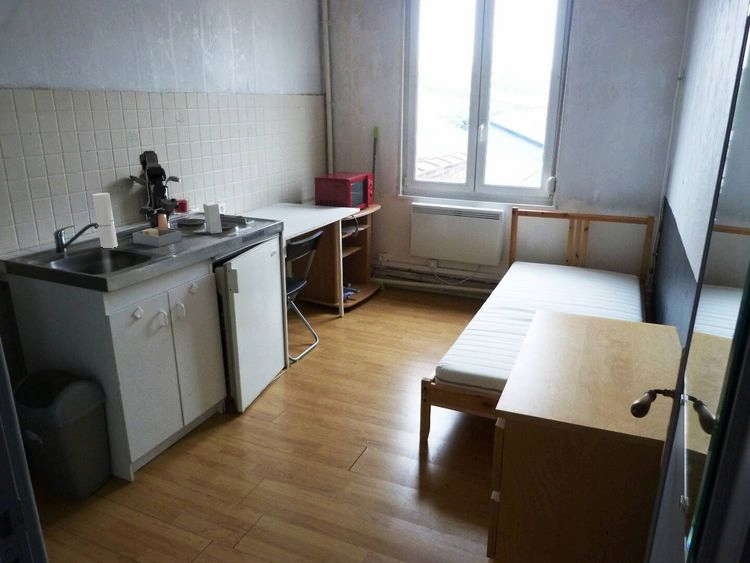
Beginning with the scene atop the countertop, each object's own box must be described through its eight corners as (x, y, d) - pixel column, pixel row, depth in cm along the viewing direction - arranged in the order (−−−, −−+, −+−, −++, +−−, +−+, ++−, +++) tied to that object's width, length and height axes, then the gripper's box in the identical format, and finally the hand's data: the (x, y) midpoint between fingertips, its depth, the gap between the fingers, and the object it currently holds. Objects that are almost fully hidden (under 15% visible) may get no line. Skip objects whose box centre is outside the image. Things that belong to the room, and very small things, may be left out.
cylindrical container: (121, 245, 268) (112, 193, 260) (109, 249, 261) (101, 195, 253) (109, 244, 270) (100, 192, 262) (97, 248, 263) (88, 194, 256)
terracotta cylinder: (154, 229, 268) (152, 215, 266) (163, 227, 272) (161, 213, 270) (161, 230, 266) (159, 216, 264) (170, 228, 270) (168, 214, 268)
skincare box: (222, 232, 291) (219, 204, 287) (210, 234, 288) (207, 205, 284) (216, 229, 298) (214, 201, 294) (205, 231, 295) (202, 202, 290)
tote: (133, 243, 272) (132, 233, 270) (156, 237, 283) (155, 227, 281) (158, 247, 263) (157, 237, 262) (181, 241, 275) (180, 231, 273)
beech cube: (143, 240, 274) (142, 230, 273) (152, 238, 278) (151, 228, 277) (150, 241, 272) (149, 231, 270) (159, 239, 276) (157, 229, 274)
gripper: (152, 197, 252) (157, 231, 257) (185, 191, 267) (189, 223, 272) (136, 195, 257) (141, 229, 262) (169, 189, 273) (173, 221, 278)
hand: (162, 226), depth 269 cm, fingers closed on terracotta cylinder, 5 cm apart
